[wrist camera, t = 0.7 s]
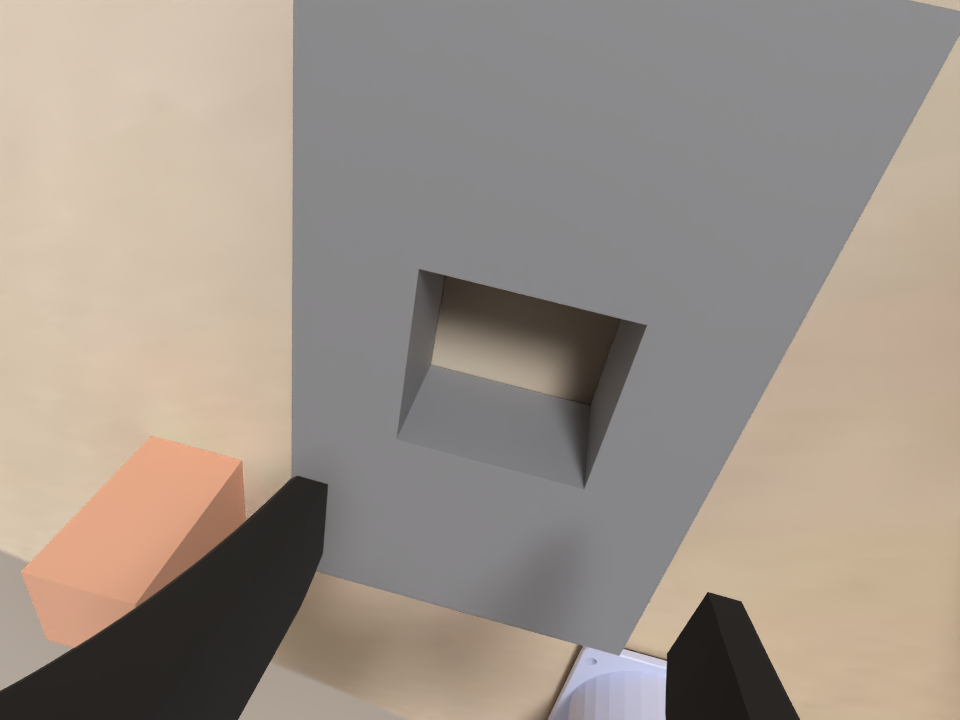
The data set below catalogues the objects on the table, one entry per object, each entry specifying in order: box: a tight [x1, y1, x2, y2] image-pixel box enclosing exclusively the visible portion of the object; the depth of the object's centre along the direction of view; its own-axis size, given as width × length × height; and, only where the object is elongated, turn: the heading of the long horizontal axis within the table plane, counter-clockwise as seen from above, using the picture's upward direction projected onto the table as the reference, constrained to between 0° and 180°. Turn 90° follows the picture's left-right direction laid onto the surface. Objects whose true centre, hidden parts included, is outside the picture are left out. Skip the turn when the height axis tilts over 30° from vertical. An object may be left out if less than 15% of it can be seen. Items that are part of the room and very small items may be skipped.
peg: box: [21, 436, 245, 648], centre depth 25 cm, size 4×4×7 cm
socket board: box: [292, 0, 960, 656], centre depth 18 cm, size 20×12×4 cm, turn 170°
